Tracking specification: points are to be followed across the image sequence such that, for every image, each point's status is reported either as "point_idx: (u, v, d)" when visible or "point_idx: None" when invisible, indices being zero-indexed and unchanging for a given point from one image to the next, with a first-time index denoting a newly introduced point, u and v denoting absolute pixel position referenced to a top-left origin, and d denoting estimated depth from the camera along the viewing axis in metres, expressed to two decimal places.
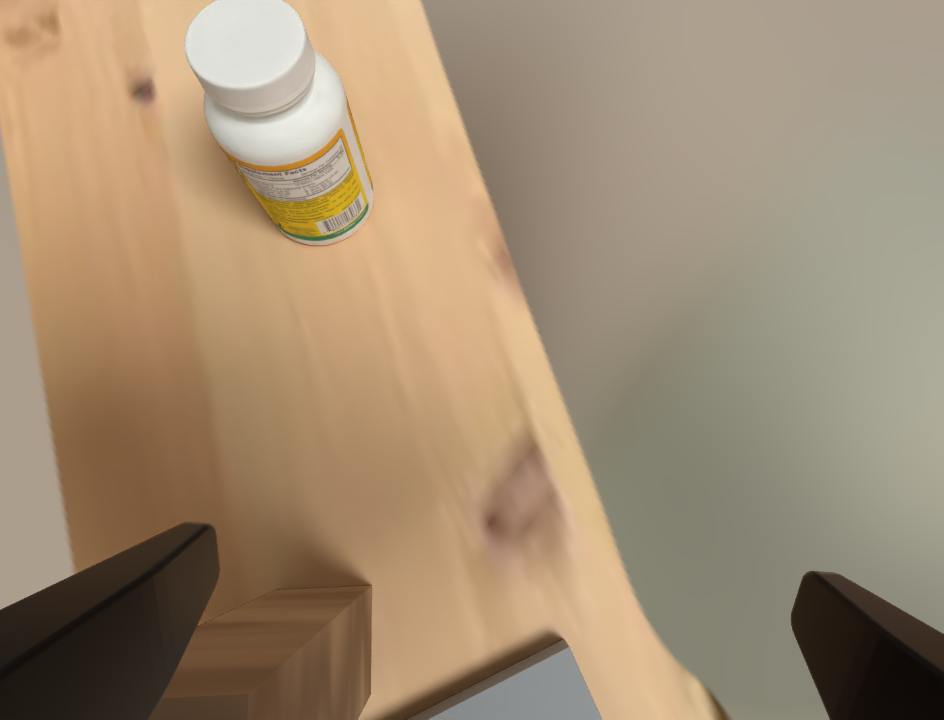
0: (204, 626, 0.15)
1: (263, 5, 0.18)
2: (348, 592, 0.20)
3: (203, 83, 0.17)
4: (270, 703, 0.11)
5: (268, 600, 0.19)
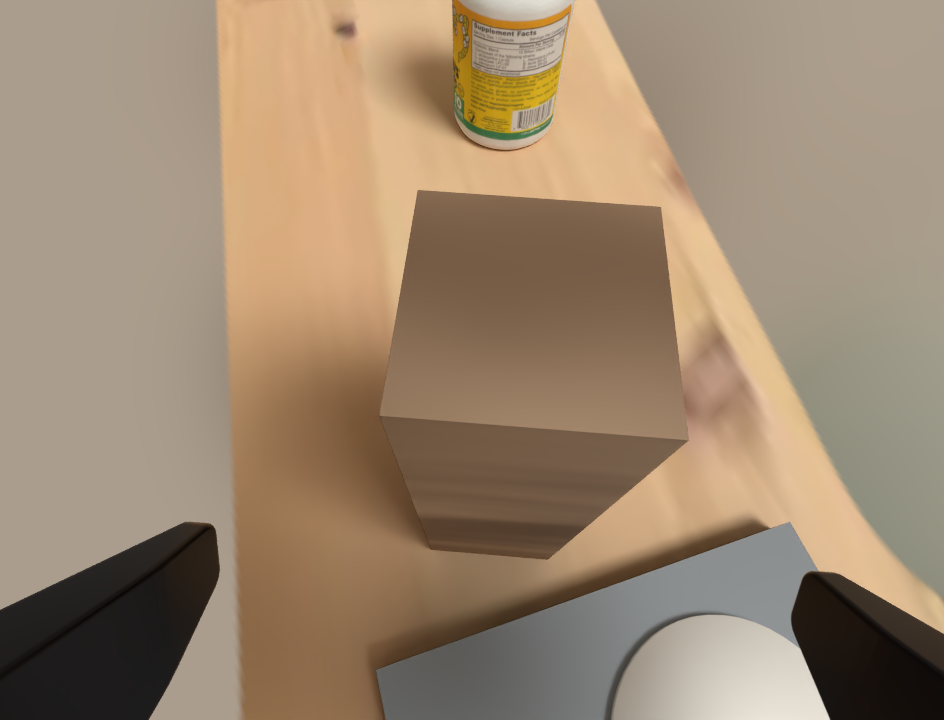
0: None
1: None
2: None
3: None
4: None
5: None
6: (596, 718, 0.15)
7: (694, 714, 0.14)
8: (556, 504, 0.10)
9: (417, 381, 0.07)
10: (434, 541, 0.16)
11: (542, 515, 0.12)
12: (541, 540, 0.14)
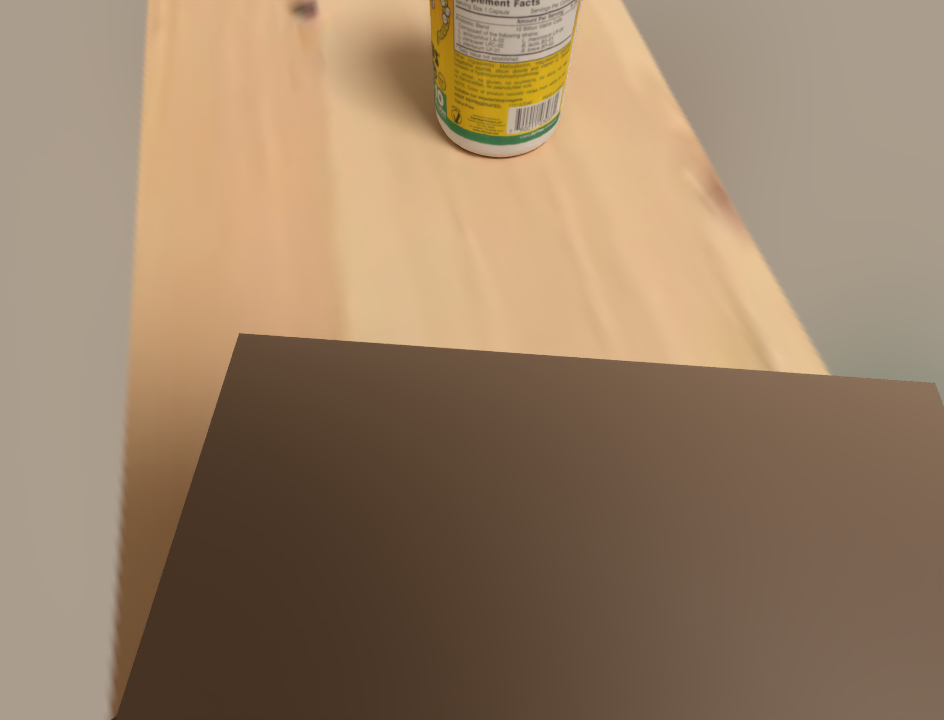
0: None
1: None
2: None
3: None
4: None
5: None
6: None
7: None
8: None
9: None
10: None
11: None
12: None
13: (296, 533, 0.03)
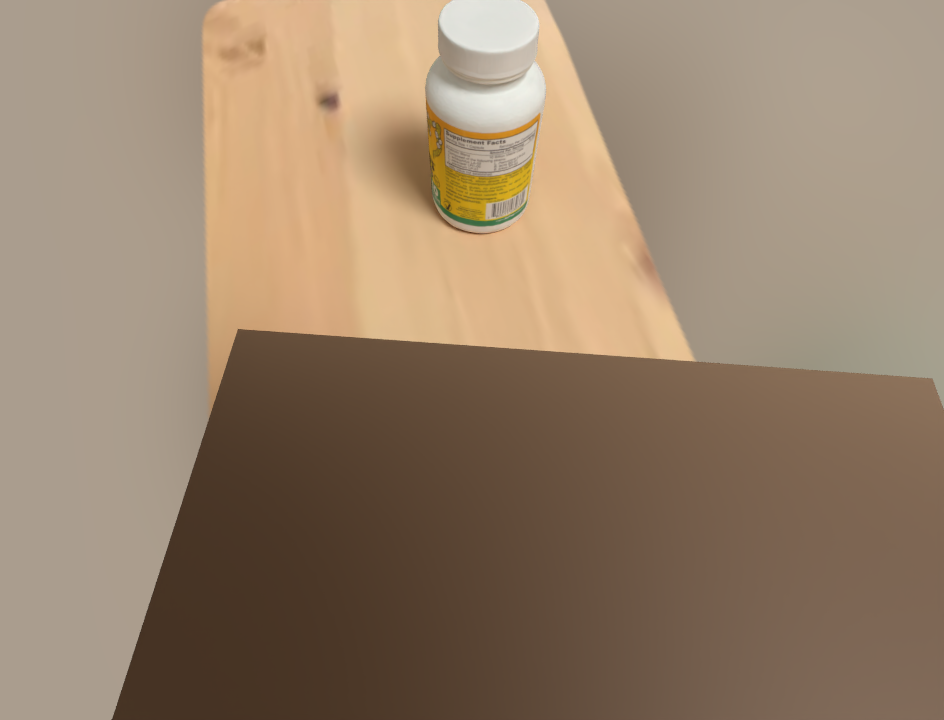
0: None
1: (504, 1, 0.21)
2: None
3: (450, 49, 0.20)
4: None
5: None
6: None
7: None
8: None
9: None
10: None
11: None
12: None
13: (294, 528, 0.03)
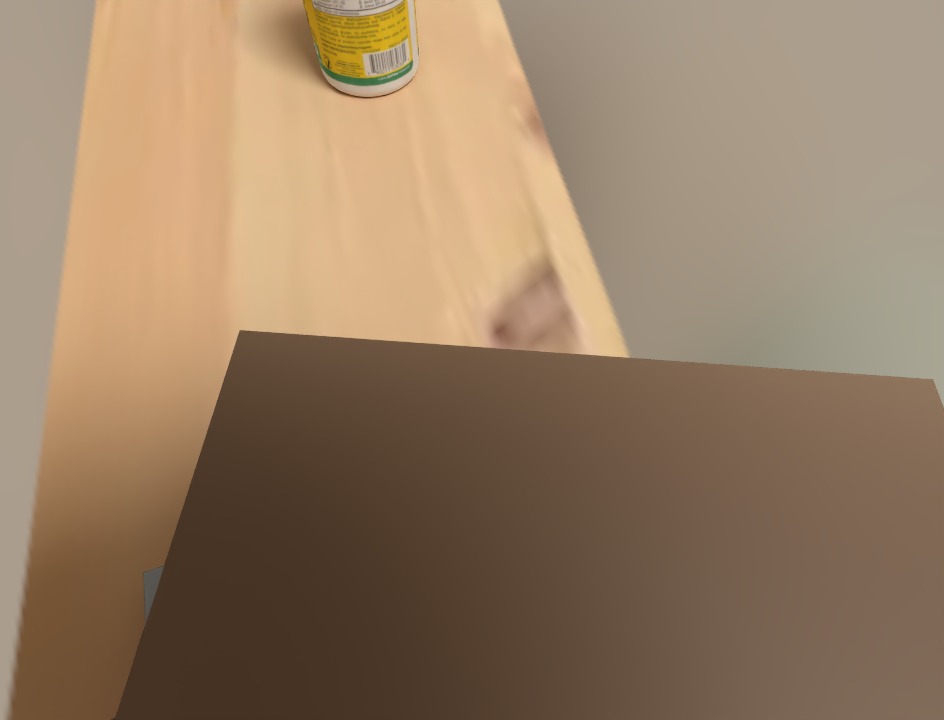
0: None
1: None
2: None
3: None
4: None
5: None
6: None
7: None
8: None
9: None
10: None
11: None
12: None
13: (296, 529, 0.03)
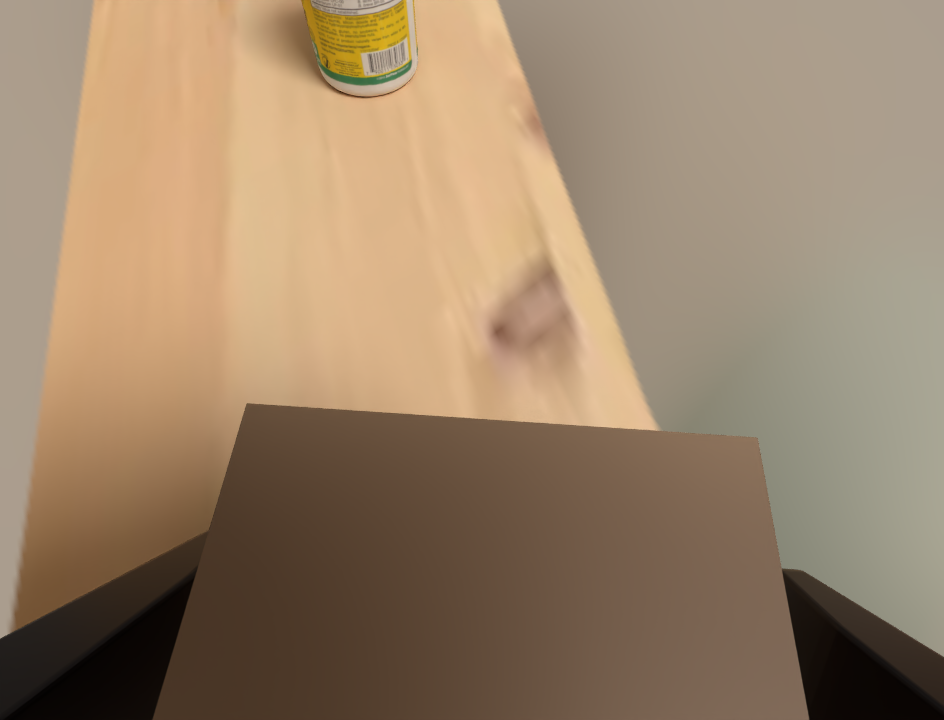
0: None
1: None
2: None
3: None
4: None
5: None
6: None
7: None
8: None
9: None
10: None
11: None
12: None
13: (285, 550, 0.04)
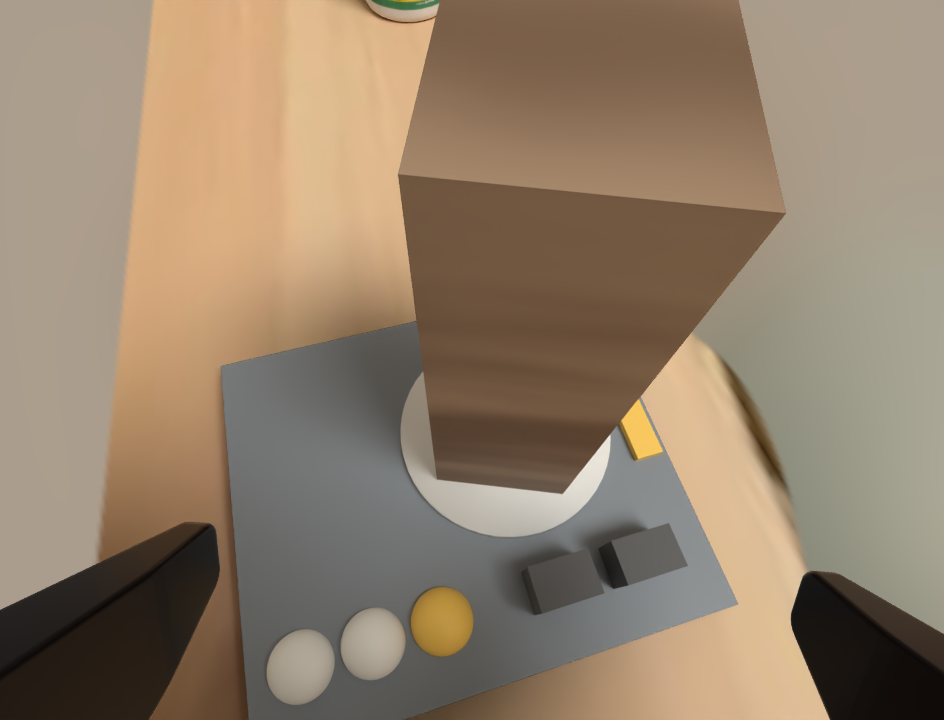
0: None
1: None
2: None
3: None
4: None
5: None
6: (395, 402, 0.18)
7: None
8: (590, 378, 0.09)
9: (446, 144, 0.06)
10: (442, 463, 0.15)
11: (570, 403, 0.10)
12: (561, 456, 0.13)
13: (481, 15, 0.07)
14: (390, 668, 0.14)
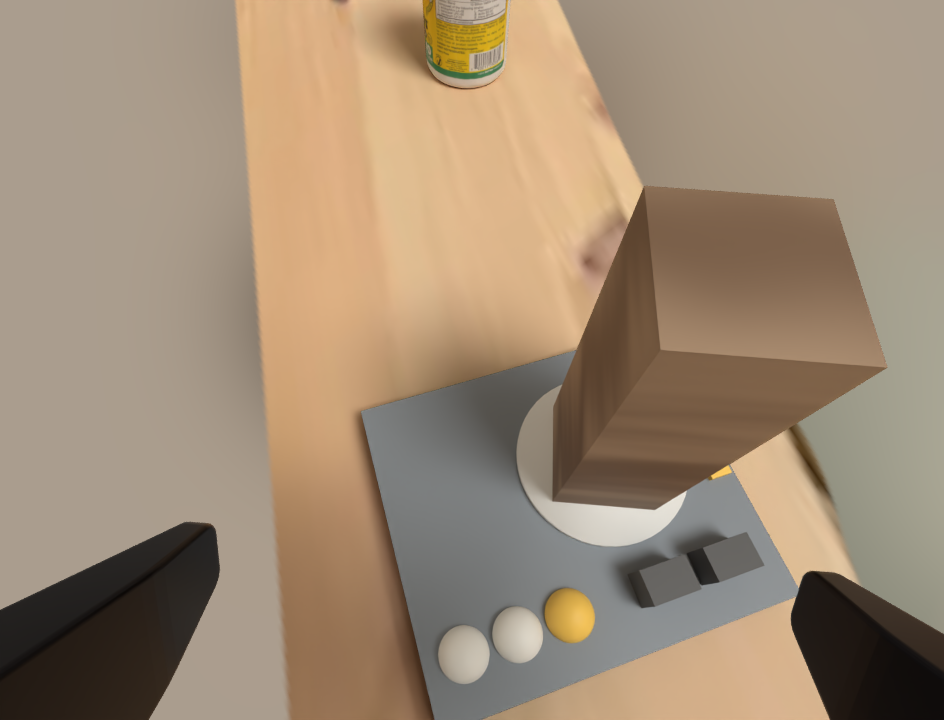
0: None
1: None
2: None
3: None
4: None
5: None
6: (508, 437, 0.22)
7: None
8: (723, 439, 0.13)
9: (681, 326, 0.10)
10: (566, 490, 0.19)
11: (698, 453, 0.14)
12: (671, 484, 0.17)
13: (676, 226, 0.11)
14: (535, 653, 0.18)
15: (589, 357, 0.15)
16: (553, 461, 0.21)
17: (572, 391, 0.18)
